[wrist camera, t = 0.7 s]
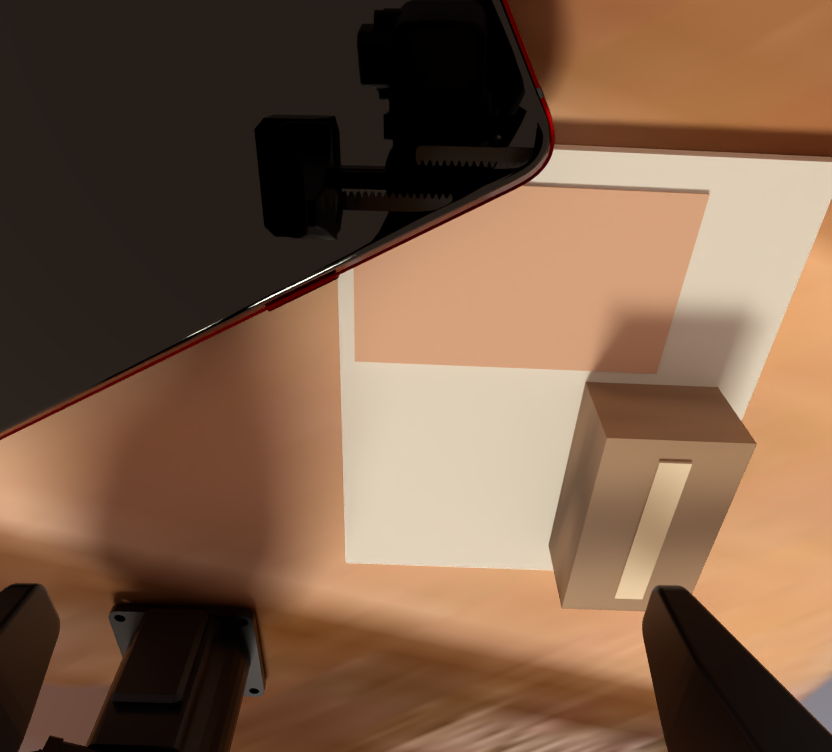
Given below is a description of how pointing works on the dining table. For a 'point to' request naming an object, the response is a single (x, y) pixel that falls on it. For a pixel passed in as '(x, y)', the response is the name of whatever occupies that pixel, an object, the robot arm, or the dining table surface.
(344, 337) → the mat
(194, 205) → the grey and red slab
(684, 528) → the slotted tan box
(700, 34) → the dining table surface
